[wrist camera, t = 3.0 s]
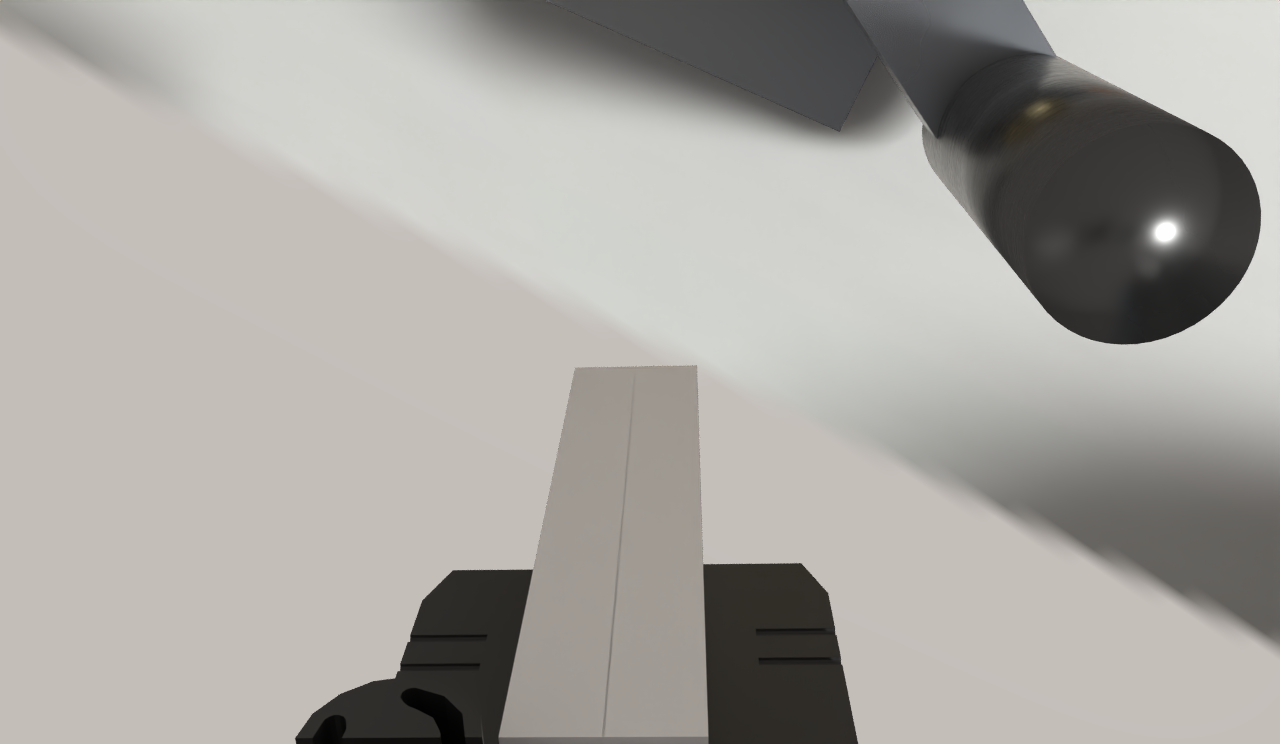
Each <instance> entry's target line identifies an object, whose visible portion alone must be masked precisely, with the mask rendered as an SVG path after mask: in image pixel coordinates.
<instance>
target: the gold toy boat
mask: <svg viewBox="0 0 1280 744" xmlns="http://www.w3.org/2000/svg"><path fill="white" fill-rule="evenodd" d="M842 2H843V3H844V5H845V6H846V8H847V9H848V11H849V12H850V14H851V15H852V17H853V18H854V20H855V21H856V23H857V24H858V26H859V28H860V29H861V31H862V32H863V34H864V35H865V37H866V38H867V40H868V41H869V43H870V44H871V46H872V47H873V49H874V50H875V52H876V53H877V55H878V57H879V58H880V60H881V61H882V63H883V64H884V66H885V67H886V69H887V70H888V72H889V73H890V75H891V76H892V78H893V79H894V81H895V83H896V84H897V86H898V87H899V89H900V90H901V92H902V93H903V95H904V96H905V98H906V99H907V101H908V102H909V104H910V105H911V107H912V108H913V110H914V112H915V113H916V115H917V116H918V118H919V119H920V121H921V122H922V124H923V126H922V137H923V145H924V149H925V153H926V156H927V159H928V161H929V163H930V165H931V167H932V169H933V170H934V172H935V173H936V174H937V176H938V177H939V178H940V180H941V181H942V182H943V183H944V184H945V186H946V187H947V188H948V189H949V191H950V192H951V193H952V194H953V196H954V197H955V198H956V199H957V201H958V202H959V203H960V204H961V206H962V207H963V208H964V209H965V211H966V212H967V213H968V214H969V216H970V217H971V218H972V219H973V221H974V222H975V223H976V224H977V226H978V227H979V228H980V229H981V231H982V232H983V233H984V234H985V235H986V237H987V238H988V239H989V240H990V242H991V243H992V244H993V245H994V247H995V248H996V249H997V250H998V252H999V253H1000V254H1001V255H1002V257H1003V258H1004V259H1005V260H1006V262H1007V263H1008V264H1009V265H1010V267H1011V268H1012V269H1013V270H1014V272H1015V273H1016V274H1017V275H1018V277H1019V278H1020V279H1021V280H1022V282H1023V283H1024V284H1025V285H1026V286H1027V288H1028V289H1029V290H1030V291H1031V293H1032V294H1033V295H1034V296H1035V298H1036V299H1037V300H1038V301H1039V303H1040V304H1041V305H1042V306H1043V308H1044V309H1045V310H1046V311H1047V313H1049V314H1050V315H1051V316H1052V317H1053V318H1054V319H1055V320H1056V321H1057V322H1058V323H1060V324H1061V325H1062V326H1064V327H1065V328H1067V329H1068V330H1070V331H1072V332H1074V333H1076V334H1078V335H1080V336H1083V337H1085V338H1088V339H1091V340H1094V341H1099V342H1104V343H1110V344H1139V343H1145V342H1152V341H1155V340H1159V339H1163V338H1166V337H1169V336H1171V335H1174V334H1176V333H1179V332H1181V331H1183V330H1185V329H1187V328H1189V327H1191V326H1193V325H1195V324H1196V323H1198V322H1199V321H1201V320H1202V319H1204V318H1205V317H1207V316H1208V315H1209V314H1210V313H1211V312H1213V311H1214V310H1215V309H1216V308H1217V307H1219V306H1220V305H1221V304H1222V303H1223V302H1224V301H1225V300H1226V298H1227V297H1228V296H1229V295H1230V294H1231V293H1232V292H1233V290H1234V289H1235V288H1236V286H1237V285H1238V284H1239V283H1240V281H1241V279H1242V278H1243V276H1244V274H1245V273H1246V271H1247V269H1248V267H1249V265H1250V263H1251V260H1252V258H1253V256H1254V253H1255V250H1256V246H1257V243H1258V239H1259V233H1260V226H1261V208H1260V200H1259V195H1258V192H1257V188H1256V184H1255V182H1254V180H1253V178H1252V175H1251V173H1250V171H1249V170H1248V168H1247V167H1246V165H1245V164H1244V162H1243V161H1242V159H1241V158H1240V157H1239V156H1238V155H1237V154H1236V153H1235V152H1234V150H1233V149H1232V148H1230V147H1229V146H1228V145H1226V144H1225V143H1224V142H1223V141H1221V140H1220V139H1218V138H1216V137H1215V136H1213V135H1211V134H1209V133H1207V132H1205V131H1203V130H1201V129H1199V128H1197V127H1196V126H1194V125H1192V124H1190V123H1188V122H1186V121H1184V120H1182V119H1180V118H1178V117H1176V116H1174V115H1172V114H1170V113H1168V112H1166V111H1164V110H1162V109H1160V108H1158V107H1156V106H1154V105H1152V104H1150V103H1148V102H1146V101H1144V100H1142V99H1140V98H1138V97H1136V96H1134V95H1133V94H1131V93H1129V92H1127V91H1125V90H1123V89H1121V88H1119V87H1117V86H1115V85H1113V84H1111V83H1109V82H1107V81H1105V80H1103V79H1101V78H1099V77H1097V76H1095V75H1093V74H1091V73H1089V72H1087V71H1085V70H1083V69H1081V68H1079V67H1077V66H1075V65H1073V64H1071V63H1070V62H1068V61H1066V60H1064V59H1062V58H1060V57H1058V56H1056V55H1055V53H1054V51H1053V50H1052V48H1051V46H1050V45H1049V43H1048V41H1047V40H1046V38H1045V36H1044V35H1043V33H1042V31H1041V30H1040V28H1039V26H1038V25H1037V23H1036V21H1035V20H1034V18H1033V16H1032V15H1031V13H1030V11H1029V10H1028V8H1027V6H1026V5H1025V3H1024V1H1023V0H842Z"/></svg>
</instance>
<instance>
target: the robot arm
mask: <svg viewBox="0 0 1280 744" xmlns="http://www.w3.org/2000/svg"><path fill="white" fill-rule="evenodd" d="M699 451H700V449H699V416H698V384H697V366H649V367H648V366H645V367H588V368H575V371H574V376H573V381H572V386H571V390H570V395H569V400H568V405H567V410H566V415H565V419H564V424H563V429H562V434H561V439H560V443H559V448H558V453H557V458H556V463H555V468H554V473H553V477H552V483H551V487H550V492H549V496H548V501H547V506H546V511H545V516H544V521H543V525H542V530H541V535H540V540H539V545H538V550H537V554H536V559H535V564H534V569H533V570H454V571H452V572H451V573H450V574H449V575H448V576H447V577H446V578H445V579H444V580H443V581H442V582H441V583H440V584H439V585H438V586H437V587H436V588H435V589H434V590H433V591H432V592H431V593H430V594H429V595H428V596H426V598H425V599H423V601H422V603H421V606H420V609H419V612H418V615H417V618H416V620H415V623H414V626H413V629H412V632H411V635H410V637H411V638H410V642H408V643H407V646H406V649H405V652H404V655H403V658H402V661H401V663H400V665H401V669H400V671H398V672H397V675H396V678H395V679H387V680H380V681H373V682H370V683H368V684H365V685H363V686H360V687H357V688H355V689H352V690H350V691H347V692H344V693H342V694H340V695H338V696H337V697H336V698H334V699H333V700H331V701H330V702H328V703H327V704H326V705H324V706H323V707H322V708H320V709H319V710H317V711H316V712H314V713H313V714H312V715H311V717H310V718H309V720H308V721H307V723H306V724H305V725H304V727H303V728H302V730H301V731H300V732H299V734H298V735H297V736H296V738H295V740H296V744H858V741H857V736H856V731H855V726H854V722H853V716H852V711H851V706H850V701H849V696H848V691H847V686H846V681H845V676H844V671H843V666H842V665H841V656H840V651H839V646H838V641H837V636H836V635H835V626H834V621H833V616H832V611H831V606H830V601H829V596H828V593H827V592H826V590H825V589H824V588H823V587H822V586H821V585H820V584H819V583H818V582H817V581H816V579H815V578H814V577H813V576H812V575H811V574H810V573H809V572H808V570H806V568H805V567H804V566H803V565H802V564H801V563H799V564H797V563H795V564H703V551H702V550H703V547H702V515H701V482H700V452H699Z"/></svg>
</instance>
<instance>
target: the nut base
mask: <svg viewBox="0 0 1280 744" xmlns="http://www.w3.org/2000/svg"><path fill="white" fill-rule="evenodd" d="M545 1H547V2H550V3H552V4H554V5H556V6H559V7H561V8H563V9H565V10H568V11H570V12H572V13H574V14H577V15H579V16H581V17H583V18H586V19H588V20H590V21H592V22H595V23H597V24H599V25H601V26H603V27H606V28H608V29H610V30H612V31H615V32H617V33H619V34H621V35H624V36H626V37H628V38H630V39H633V40H635V41H637V42H639V43H642V44H644V45H646V46H648V47H651V48H653V49H655V50H657V51H660V52H662V53H664V54H666V55H669V56H671V57H673V58H675V59H678V60H680V61H682V62H684V63H687V64H689V65H691V66H693V67H695V68H698V69H700V70H702V71H704V72H707V73H709V74H711V75H713V76H716V77H718V78H720V79H722V80H725V81H727V82H729V83H731V84H734V85H736V86H738V87H740V88H743V89H745V90H747V91H749V92H752V93H754V94H756V95H758V96H761V97H763V98H765V99H767V100H770V101H772V102H774V103H776V104H779V105H781V106H783V107H785V108H788V109H790V110H792V111H794V112H796V113H799V114H801V115H803V116H805V117H808V118H810V119H812V120H814V121H817V122H819V123H821V124H823V125H826V126H828V127H830V128H832V129H835V130H837V131H839V132H840V130H841V128H842V126H843V124H844V122H845V120H846V118H847V116H848V114H849V112H850V110H851V108H852V106H853V104H854V102H855V100H856V98H857V96H858V94H859V92H860V90H861V88H862V86H863V84H864V82H865V80H866V77H867V75H868V73H869V71H870V69H871V67H872V65H873V63H874V61H875V59H876V57H877V53H876V52H875V50H874V49H873V47H872V46H871V44H870V43H869V41H868V40H867V38H866V37H865V35H864V34H863V32H862V31H861V29H860V28H859V26H858V24H857V23H856V21H855V20H854V18H853V17H852V15H851V14H850V12H849V11H848V9H847V8H846V6H845V5H844V3H843V2H842V0H545Z"/></svg>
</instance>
